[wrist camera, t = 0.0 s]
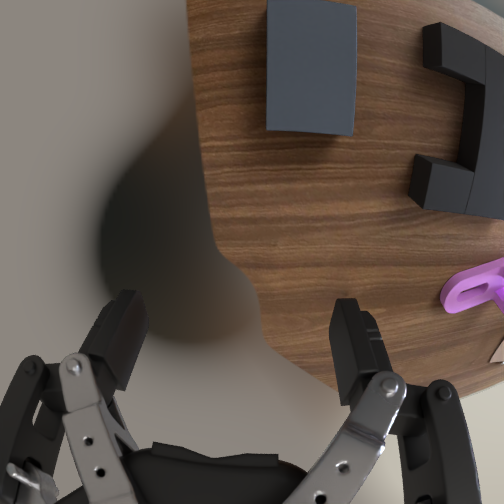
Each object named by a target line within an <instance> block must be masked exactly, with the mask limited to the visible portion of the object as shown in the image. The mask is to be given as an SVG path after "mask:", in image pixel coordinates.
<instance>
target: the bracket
mask: <svg viewBox="0 0 504 504" xmlns="http://www.w3.org/2000/svg"><path fill="white" fill-rule="evenodd" d="M478 285H480V286H479V287H477V288H474V289H471V290H468V291H465V292H462V291H464V290H467V289H470V288H472V287H475V286H478ZM461 292H462V293H461ZM488 300H494V301H495V303H496V304H497V306H498V307H499V308H500V310H501V311H502V313H503V314H504V257H503V258H500V259H497V260H494V261H491V262H488V263H485V264H483V265H480V266H477V267H474V268H470V269H467V270H464V271H461V272H459V273H457V274H455V275H454V276H452V277H451V278H450V279H449V280H448V281H447V282H446V284H445V285H444V287H443V288H442V291H441V293H440V301H441V303H442V305H443V307H444V308H445V310H446V311H447V312H448V313H457V312H460V311H463V310H465V309H468V308H471V307H473V306H476V305H478V304H481V303H483V302H486V301H488Z"/></svg>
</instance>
